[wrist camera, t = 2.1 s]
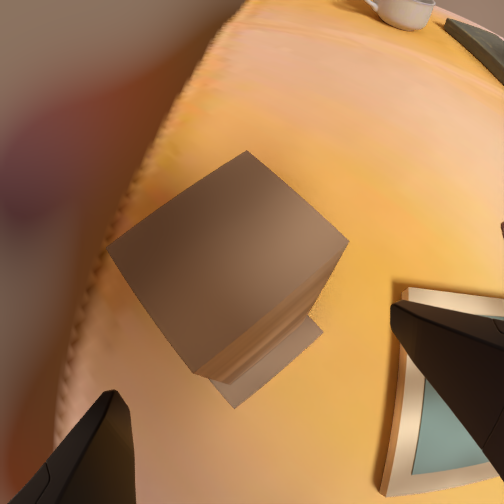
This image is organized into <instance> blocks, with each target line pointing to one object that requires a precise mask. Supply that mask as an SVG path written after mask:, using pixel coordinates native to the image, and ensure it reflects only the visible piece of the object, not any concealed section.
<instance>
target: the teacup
mask: <svg viewBox="0 0 504 504" xmlns="http://www.w3.org/2000/svg"><path fill="white" fill-rule="evenodd" d="M364 1H365V2H366V3H367V4H369V5H370V6H371V7H372V9H373V11H375V12H377V14H378V15H379V17H380V18H381V19H382V20H383V21H384V22H386V23H387V24H389V25H391V26H393V27H396V28H398V29H401V30H405V31H414V30H419V29H422V28H423V27H425V26H426V24H427V22H428V20H429V18H430V15H431V13H432V10H433V7H434V6H435V4H436V3H435V1H434V0H373V2H372V1H371V0H364Z"/></svg>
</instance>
